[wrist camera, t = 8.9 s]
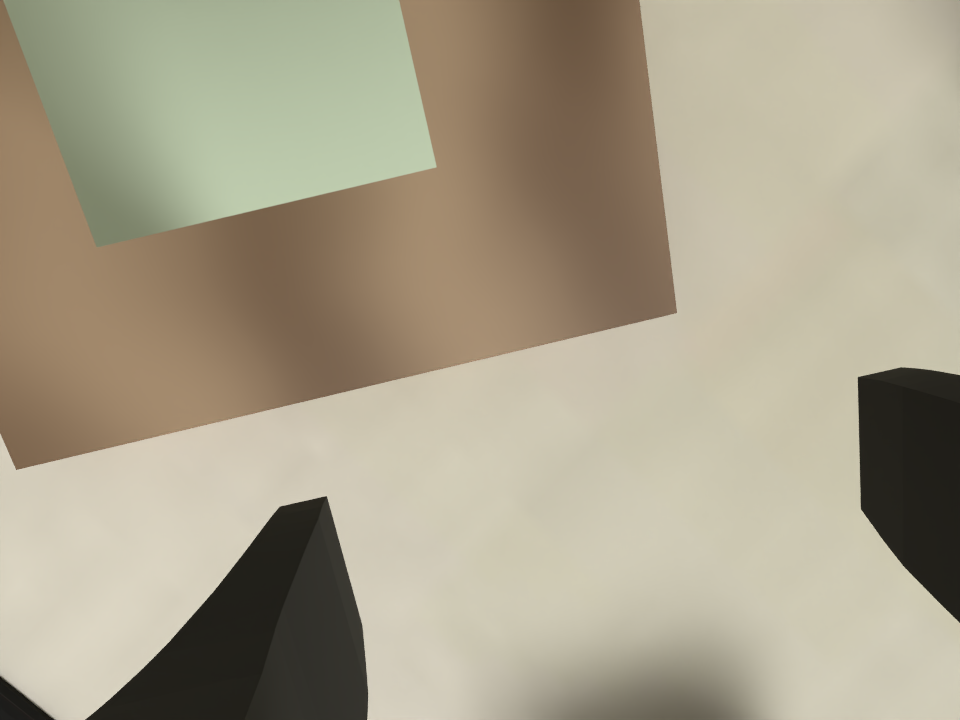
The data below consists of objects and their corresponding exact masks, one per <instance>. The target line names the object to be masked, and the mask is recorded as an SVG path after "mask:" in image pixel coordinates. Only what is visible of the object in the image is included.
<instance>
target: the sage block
mask: <svg viewBox="0 0 960 720" xmlns="http://www.w3.org/2000/svg"><path fill="white" fill-rule="evenodd" d="M3 1H4V4H5V6H6V9H7V12H8V14H9V17H10V20H11V22H12V25H13V28H14V30H15V33H16V36H17V38H18V41H19V43H20V46H21V49H22V51H23V54H24V57H25V59H26V62H27V65H28V67H29V70H30V73H31V75H32V78H33V80H34V83H35V86H36V88H37V91H38V94H39V96H40V99H41V102H42V104H43V107H44V110H45V112H46V115H47V117H48V120H49V123H50V125H51V128H52V131H53V133H54V136H55V139H56V141H57V144H58V147H59V149H60V152H61V154H62V157H63V160H64V162H65V165H66V168H67V170H68V173H69V176H70V178H71V181H72V184H73V186H74V189H75V191H76V194H77V197H78V199H79V202H80V205H81V207H82V210H83V213H84V215H85V218H86V221H87V223H88V226H89V228H90V231H91V234H92V236H93V239H94V242H95V244H96V247H101V246H106V245H110V244H114V243H118V242H122V241H127V240H131V239H135V238H139V237H144V236H148V235H152V234H156V233H161V232H165V231H169V230H173V229H178V228H182V227H186V226H190V225H195V224H199V223H203V222H207V221H212V220H216V219H220V218H224V217H228V216H233V215H237V214H241V213H245V212H250V211H254V210H258V209H262V208H267V207H271V206H275V205H279V204H284V203H288V202H292V201H296V200H301V199H305V198H309V197H313V196H317V195H322V194H326V193H330V192H334V191H339V190H343V189H347V188H351V187H356V186H360V185H364V184H368V183H373V182H377V181H381V180H385V179H390V178H394V177H398V176H402V175H407V174H411V173H415V172H419V171H423V170H428V169H432V168H436V167H437V166H436V162H435V157H434V153H433V148H432V144H431V140H430V135H429V131H428V126H427V122H426V117H425V113H424V109H423V104H422V100H421V95H420V91H419V86H418V82H417V78H416V73H415V69H414V64H413V60H412V55H411V51H410V46H409V42H408V38H407V33H406V29H405V24H404V20H403V15H402V11H401V7H400V2H399V0H3Z"/></svg>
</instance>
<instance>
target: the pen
mask: <svg viewBox="0 0 960 720" xmlns="http://www.w3.org/2000/svg"><path fill="white" fill-rule="evenodd" d="M0 720H53V719H51V718H50V717H49V716H48V715H46V714H45V713H44V712H43V711H41V710H40V709H39V708H38V707H36V706H35V705H34V704H33V703H31V702H30V701H29V700H28V699H26V698H25V697H24V696H23V695H21V694H20V693H19V692H18V691H17V690H15V689H14V688H13V687H12V686H10V685H9V684H8V683H7V682H5V681H4V680H3V679H2V678H0Z"/></svg>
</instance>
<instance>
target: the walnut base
mask: <svg viewBox="0 0 960 720" xmlns="http://www.w3.org/2000/svg"><path fill="white" fill-rule="evenodd" d="M399 2H400V7H401V11H402V15H403V20H404V24H405V29H406V33H407V38H408V42H409V46H410V51H411V55H412V60H413V64H414V69H415V73H416V78H417V82H418V86H419V91H420V95H421V100H422V104H423V109H424V113H425V117H426V122H427V126H428V131H429V135H430V140H431V144H432V148H433V153H434V157H435V162H436V166H437V167H436V168H432V169H428V170H423V171H419V172H415V173H411V174H407V175H402V176H398V177H394V178H390V179H385V180H381V181H377V182H373V183H368V184H364V185H360V186H356V187H351V188H347V189H343V190H339V191H334V192H330V193H326V194H322V195H317V196H313V197H309V198H305V199H301V200H296V201H292V202H288V203H284V204H279V205H275V206H271V207H267V208H262V209H258V210H254V211H250V212H245V213H241V214H237V215H233V216H228V217H224V218H220V219H216V220H212V221H207V222H203V223H199V224H195V225H190V226H186V227H182V228H178V229H173V230H169V231H165V232H161V233H156V234H152V235H148V236H144V237H139V238H135V239H131V240H127V241H122V242H118V243H114V244H110V245H106V246H101V247H96V244H95V242H94V239H93V236H92V234H91V231H90V228H89V226H88V223H87V221H86V218H85V215H84V213H83V210H82V207H81V205H80V202H79V199H78V197H77V194H76V191H75V189H74V186H73V184H72V181H71V178H70V176H69V173H68V170H67V168H66V165H65V162H64V160H63V157H62V154H61V152H60V149H59V147H58V144H57V141H56V139H55V136H54V133H53V131H52V128H51V125H50V123H49V120H48V117H47V115H46V112H45V110H44V107H43V104H42V102H41V99H40V96H39V94H38V91H37V88H36V86H35V83H34V80H33V78H32V75H31V73H30V70H29V67H28V65H27V62H26V59H25V57H24V54H23V51H22V49H21V46H20V43H19V41H18V38H17V36H16V33H15V30H14V28H13V25H12V22H11V20H10V17H9V14H8V12H7V9H6V6H5V4H4V1H3V0H0V434H1V436H2V438H3V440H4V443H5V445H6V447H7V450H8V452H9V454H10V456H11V459H12V461H13V463H14V465H15V468H16V470H17V469H22V468H26V467H30V466H34V465H38V464H43V463H47V462H51V461H55V460H60V459H64V458H68V457H72V456H76V455H81V454H85V453H89V452H93V451H97V450H102V449H106V448H110V447H114V446H118V445H123V444H127V443H131V442H135V441H140V440H144V439H148V438H152V437H156V436H161V435H165V434H169V433H173V432H177V431H182V430H186V429H190V428H194V427H198V426H203V425H207V424H211V423H215V422H220V421H224V420H228V419H232V418H236V417H241V416H245V415H249V414H253V413H257V412H262V411H266V410H270V409H274V408H279V407H283V406H287V405H291V404H295V403H300V402H304V401H308V400H312V399H316V398H321V397H325V396H329V395H333V394H337V393H342V392H346V391H350V390H354V389H359V388H363V387H367V386H371V385H375V384H380V383H384V382H388V381H392V380H396V379H401V378H405V377H409V376H413V375H418V374H422V373H426V372H430V371H434V370H439V369H443V368H447V367H451V366H455V365H460V364H464V363H468V362H472V361H476V360H481V359H485V358H489V357H493V356H498V355H502V354H506V353H510V352H514V351H519V350H523V349H527V348H531V347H535V346H540V345H544V344H548V343H552V342H556V341H561V340H565V339H569V338H573V337H578V336H582V335H586V334H590V333H594V332H599V331H603V330H607V329H611V328H615V327H620V326H624V325H628V324H632V323H637V322H641V321H645V320H649V319H653V318H658V317H662V316H666V315H670V314H674V313H677V309H676V301H675V293H674V285H673V276H672V268H671V260H670V251H669V243H668V235H667V227H666V218H665V210H664V202H663V193H662V185H661V177H660V169H659V160H658V152H657V144H656V135H655V127H654V119H653V111H652V102H651V94H650V86H649V78H648V69H647V61H646V53H645V44H644V36H643V28H642V20H641V11H640V3H639V0H399Z"/></svg>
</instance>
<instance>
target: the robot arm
mask: <svg viewBox="0 0 960 720" xmlns="http://www.w3.org/2000/svg"><path fill="white" fill-rule="evenodd" d="M858 402H859V444H860V487H861V510H862V511H863V512H864V514H865V515H866V517H867V518H868V519H869V521H870V522H871V524H872V525H873V526H874V528H875V529H876V531H877V532H878V533H879V535H880V536H881V538H882V539H883V540H884V542H885V543H886V544H887V546H888V547H889V548H890V549H891V551H892V552H893V553H894V554H895V556H896V557H897V558H898V560H899V561H900V562H901V563H902V565H903V566H904V567H905V568H906V569H907V570H908V571H909V572H910V573H911V574H912V575H913V576H914V577H915V578H916V579H917V580H918V581H919V582H920V583H921V584H922V585H923V586H924V587H925V589H926V590H927V591H928V592H929V593H930V594H931V595H932V596H933V597H934V598H935V599H936V600H937V601H938V602H939V603H940V604H941V605H942V606H943V607H944V608H945V609H946V610H947V611H948V612H949V613H950V614H951V615H952V616H953V617H955V618H956V619H957V620H958V621H959V622H960V375H956V374H950V373H944V372H939V371H932V370H925V369H916V368H897V369H892V370H888V371H883V372H879V373H874V374H870V375H865V376H861V377H858ZM367 712H368V686H367V673H366V661H365V650H364V639H363V628H362V623H361V619H360V616H359V612H358V608H357V605H356V601H355V597H354V594H353V590H352V587H351V583H350V579H349V576H348V572H347V568H346V565H345V561H344V557H343V554H342V550H341V546H340V543H339V539H338V536H337V532H336V528H335V525H334V521H333V517H332V514H331V510H330V506H329V503H328V499H327V496H326V497H321V498H317V499H312V500H308V501H303V502H299V503H294V504H290V505H285V506H281V507H279V508H278V510H277V511H276V512H275V513H274V514H273V516H272V517H271V518H270V519H269V521H268V522H267V523H266V525H265V526H264V527H263V529H262V530H261V531H260V533H259V534H258V535H257V537H256V538H255V539H254V541H253V542H252V543H251V545H250V546H249V547H248V549H247V550H246V551H245V553H244V554H243V555H242V557H241V558H240V559H239V560H238V562H237V563H236V564H235V565H234V567H233V568H232V569H231V571H230V572H229V573H228V574H227V576H226V577H225V578H224V579H223V581H222V582H221V583H220V585H219V586H218V587H217V588H216V590H215V591H214V592H213V593H212V594H211V595H210V597H209V598H208V599H207V600H206V601H205V602H204V603H203V604H202V606H201V607H200V608H199V609H198V610H197V611H196V612H195V613H194V615H193V616H192V617H191V618H190V619H189V620H188V621H187V623H186V624H185V625H184V626H183V627H182V628H181V629H180V630H179V632H178V633H177V634H176V635H175V636H174V637H173V638H172V640H171V641H170V642H169V643H168V644H167V645H166V646H165V647H164V648H163V649H162V650H161V651H160V652H159V653H158V654H157V655H156V656H155V657H154V658H153V659H152V660H151V661H150V662H149V663H148V664H147V665H146V666H145V667H144V668H143V669H142V670H141V671H140V672H139V673H138V674H137V675H136V676H135V677H133V678H132V679H131V680H130V681H129V682H128V683H127V684H126V685H125V686H124V687H123V688H122V689H120V690H119V691H118V692H117V693H116V694H115V695H114V696H113V697H112V698H111V699H110V700H108V701H107V702H106V703H105V704H104V705H103V706H102V707H100V708H99V709H98V710H97V711H96V712H94V713H93V714H92V715H91V716H89V717H88V718H87V719H86V720H367Z"/></svg>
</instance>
